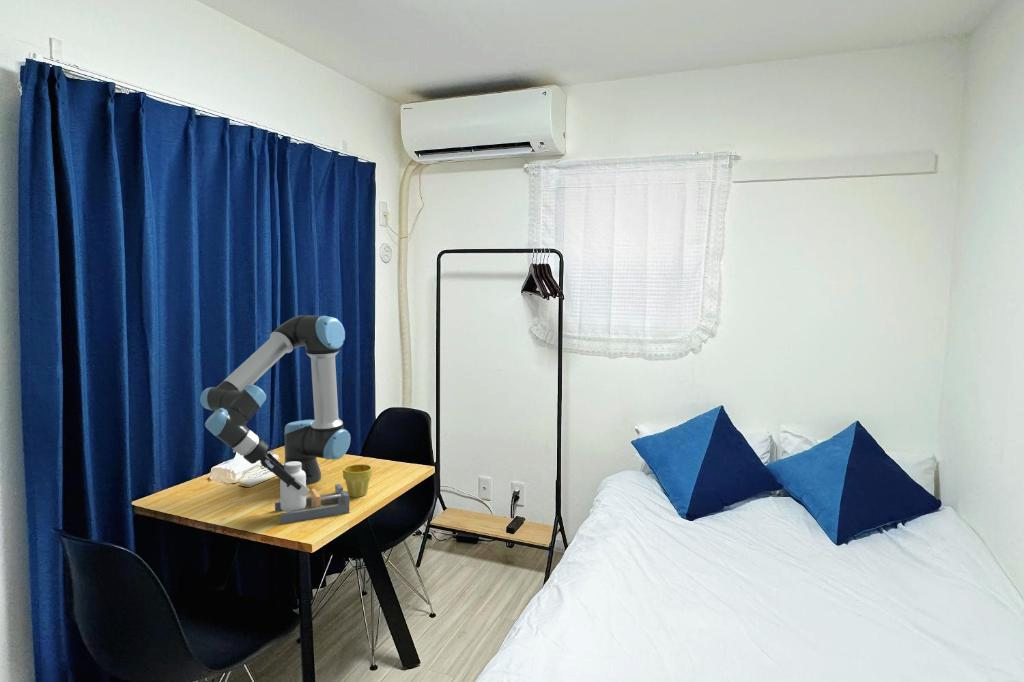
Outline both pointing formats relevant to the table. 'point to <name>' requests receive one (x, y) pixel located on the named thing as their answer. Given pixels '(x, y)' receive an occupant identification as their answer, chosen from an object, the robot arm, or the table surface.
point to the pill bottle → (287, 494)
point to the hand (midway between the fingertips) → (304, 489)
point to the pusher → (319, 498)
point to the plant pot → (357, 479)
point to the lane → (318, 512)
